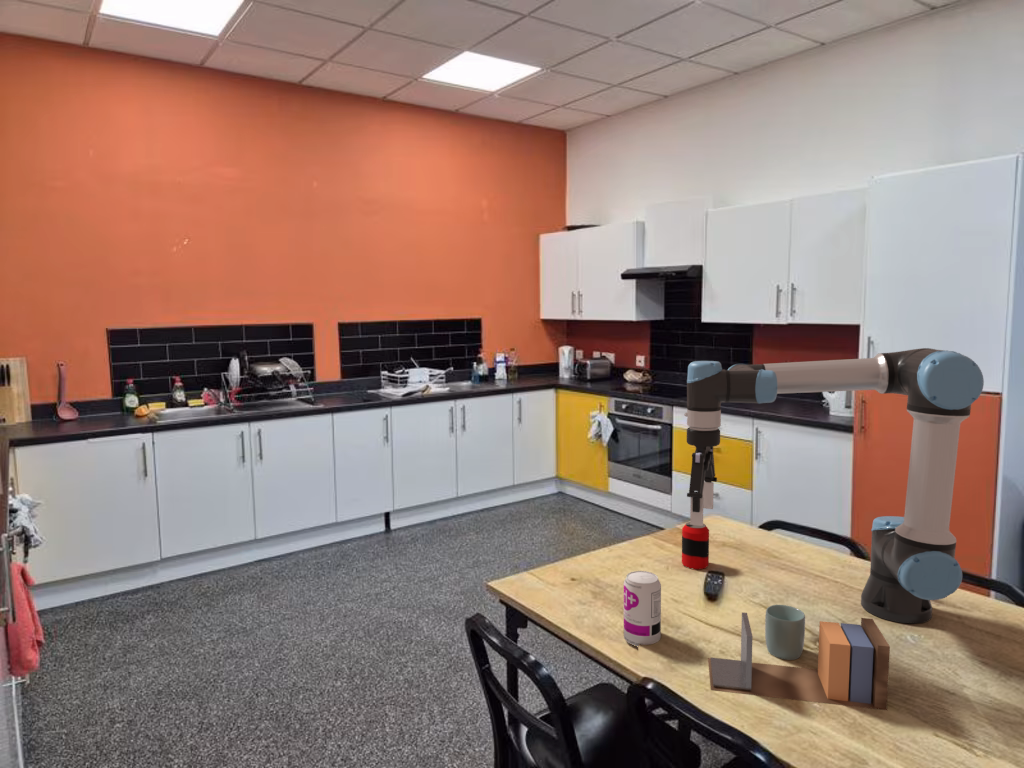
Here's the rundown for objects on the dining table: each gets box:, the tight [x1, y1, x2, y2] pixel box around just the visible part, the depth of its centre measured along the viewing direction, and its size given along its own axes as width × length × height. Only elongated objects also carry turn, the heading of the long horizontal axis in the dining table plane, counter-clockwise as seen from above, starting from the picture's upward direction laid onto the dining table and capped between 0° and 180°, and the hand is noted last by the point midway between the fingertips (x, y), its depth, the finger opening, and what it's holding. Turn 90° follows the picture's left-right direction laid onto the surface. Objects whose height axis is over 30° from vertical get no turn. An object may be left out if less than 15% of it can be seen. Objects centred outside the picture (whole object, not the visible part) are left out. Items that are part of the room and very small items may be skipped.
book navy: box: [840, 622, 874, 704], centre depth 127 cm, size 4×9×11 cm, turn 166°
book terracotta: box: [817, 620, 850, 701], centre depth 128 cm, size 4×9×11 cm, turn 166°
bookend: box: [710, 612, 754, 691], centre depth 132 cm, size 7×10×11 cm
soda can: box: [681, 521, 710, 570], centre depth 192 cm, size 8×8×12 cm
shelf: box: [707, 617, 891, 711], centre depth 130 cm, size 31×12×13 cm, turn 76°
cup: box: [764, 604, 806, 661], centre depth 141 cm, size 8×8×10 cm
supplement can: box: [623, 570, 662, 648], centre depth 149 cm, size 8×8×15 cm
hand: (702, 516), depth 156 cm, fingers open, 13 cm apart
